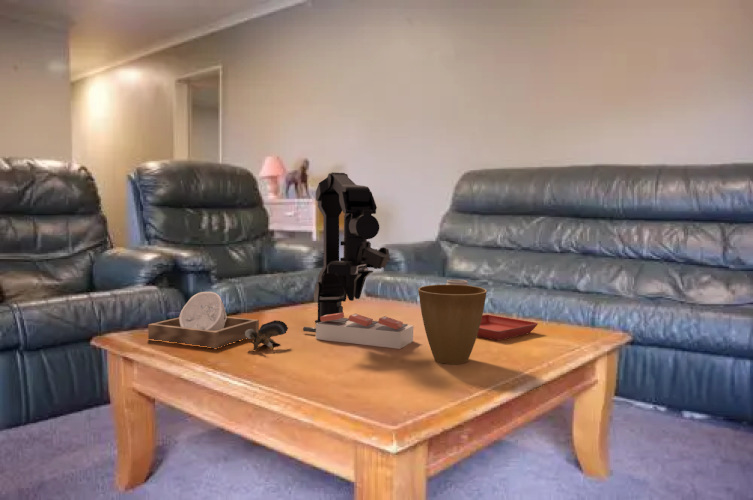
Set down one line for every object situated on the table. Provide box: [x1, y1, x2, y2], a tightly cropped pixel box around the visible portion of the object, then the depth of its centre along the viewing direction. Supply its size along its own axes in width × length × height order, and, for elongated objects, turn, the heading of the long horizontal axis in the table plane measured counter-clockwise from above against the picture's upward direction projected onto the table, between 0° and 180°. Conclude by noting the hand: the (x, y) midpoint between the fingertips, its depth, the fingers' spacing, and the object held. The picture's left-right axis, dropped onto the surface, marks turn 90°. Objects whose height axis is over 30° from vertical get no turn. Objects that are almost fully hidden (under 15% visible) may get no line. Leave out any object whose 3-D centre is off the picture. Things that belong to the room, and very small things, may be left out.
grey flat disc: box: [178, 291, 228, 331], centre depth 149 cm, size 10×14×12 cm
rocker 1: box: [320, 311, 345, 322], centre depth 149 cm, size 5×4×1 cm
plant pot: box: [417, 283, 488, 365], centre depth 129 cm, size 15×15×16 cm
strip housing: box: [302, 317, 414, 350], centre depth 150 cm, size 29×9×4 cm, turn 67°
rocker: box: [348, 313, 374, 326], centre depth 146 cm, size 5×4×1 cm
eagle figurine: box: [245, 319, 289, 351], centre depth 139 cm, size 8×7×9 cm
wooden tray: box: [147, 316, 260, 349], centre depth 148 cm, size 20×17×4 cm
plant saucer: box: [477, 314, 539, 341], centre depth 161 cm, size 18×18×3 cm
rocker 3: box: [377, 315, 404, 329], centre depth 143 cm, size 5×4×1 cm
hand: (354, 299), depth 146 cm, fingers open, 3 cm apart
